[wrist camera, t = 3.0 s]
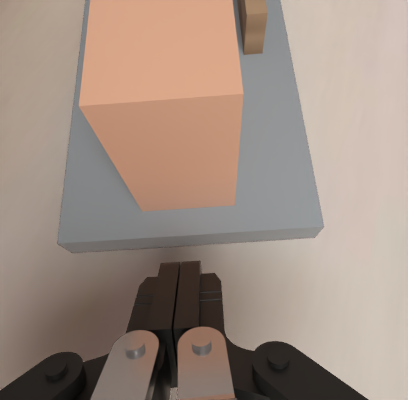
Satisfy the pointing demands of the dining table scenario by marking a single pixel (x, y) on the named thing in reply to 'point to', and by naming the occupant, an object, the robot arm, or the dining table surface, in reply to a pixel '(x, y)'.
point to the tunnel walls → (252, 24)
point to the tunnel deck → (246, 174)
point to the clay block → (166, 98)
